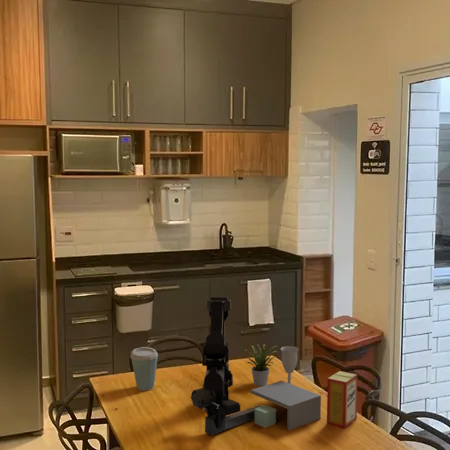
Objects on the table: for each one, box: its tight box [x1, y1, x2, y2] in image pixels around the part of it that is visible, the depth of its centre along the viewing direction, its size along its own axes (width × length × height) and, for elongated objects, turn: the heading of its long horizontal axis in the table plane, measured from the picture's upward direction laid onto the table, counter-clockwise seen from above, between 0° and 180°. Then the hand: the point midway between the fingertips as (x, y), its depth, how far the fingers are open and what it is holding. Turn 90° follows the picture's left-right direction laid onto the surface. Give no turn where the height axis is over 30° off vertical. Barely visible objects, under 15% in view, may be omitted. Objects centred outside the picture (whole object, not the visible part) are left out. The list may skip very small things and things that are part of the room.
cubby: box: [250, 380, 322, 431], centre depth 213 cm, size 19×15×8 cm
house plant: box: [243, 343, 278, 387], centre depth 244 cm, size 14×14×16 cm
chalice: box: [280, 345, 299, 384], centre depth 232 cm, size 7×7×18 cm
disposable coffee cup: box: [130, 346, 159, 392], centre depth 240 cm, size 11×11×15 cm
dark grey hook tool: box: [204, 404, 279, 436], centre depth 204 cm, size 9×25×5 cm, turn 133°
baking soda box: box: [326, 370, 359, 429], centre depth 208 cm, size 10×6×16 cm
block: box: [254, 404, 277, 428], centre depth 207 cm, size 5×5×5 cm
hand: (215, 426), depth 200 cm, fingers closed on dark grey hook tool, 3 cm apart
